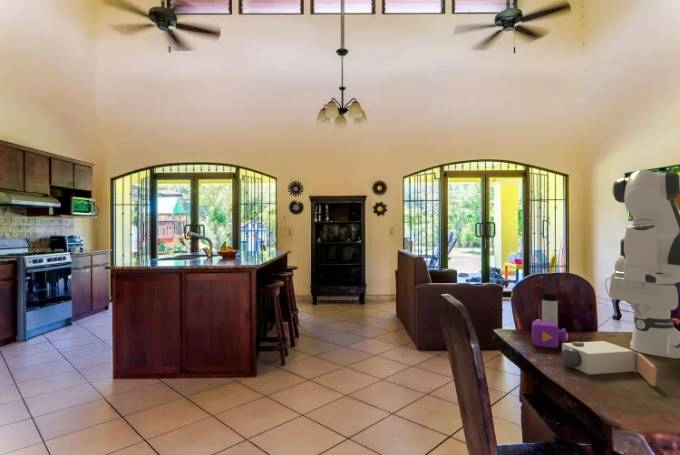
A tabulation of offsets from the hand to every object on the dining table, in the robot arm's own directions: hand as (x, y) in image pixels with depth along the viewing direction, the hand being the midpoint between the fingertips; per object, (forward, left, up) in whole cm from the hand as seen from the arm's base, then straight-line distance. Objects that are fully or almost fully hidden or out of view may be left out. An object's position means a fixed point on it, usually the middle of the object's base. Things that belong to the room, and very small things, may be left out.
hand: (640, 318), depth 122 cm
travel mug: (-10, -53, -21) cm, 58 cm away
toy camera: (0, -41, -21) cm, 46 cm away
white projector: (+3, -16, -21) cm, 26 cm away
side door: (-5, -3, -20) cm, 21 cm away
